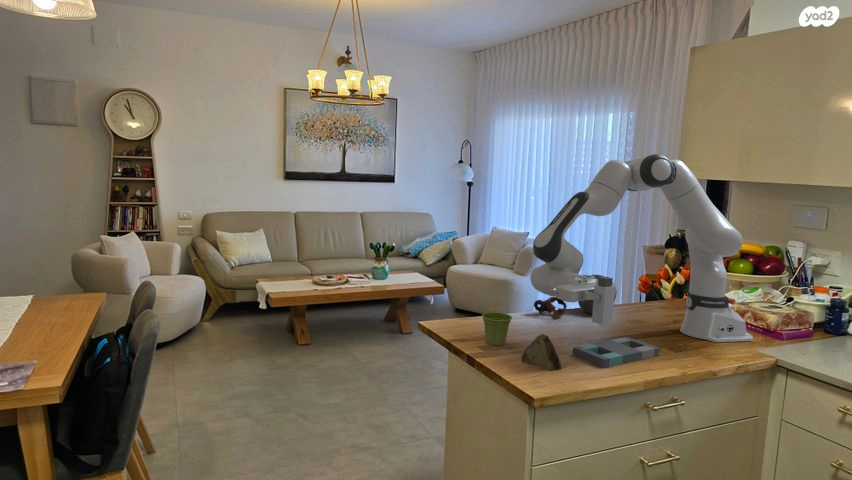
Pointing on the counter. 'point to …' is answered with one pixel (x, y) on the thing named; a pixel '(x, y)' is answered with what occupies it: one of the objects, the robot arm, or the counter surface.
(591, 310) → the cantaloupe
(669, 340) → the counter surface
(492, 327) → the plant pot
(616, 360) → the panel
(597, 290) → the plug
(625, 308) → the counter surface
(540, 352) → the rock
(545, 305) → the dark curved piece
